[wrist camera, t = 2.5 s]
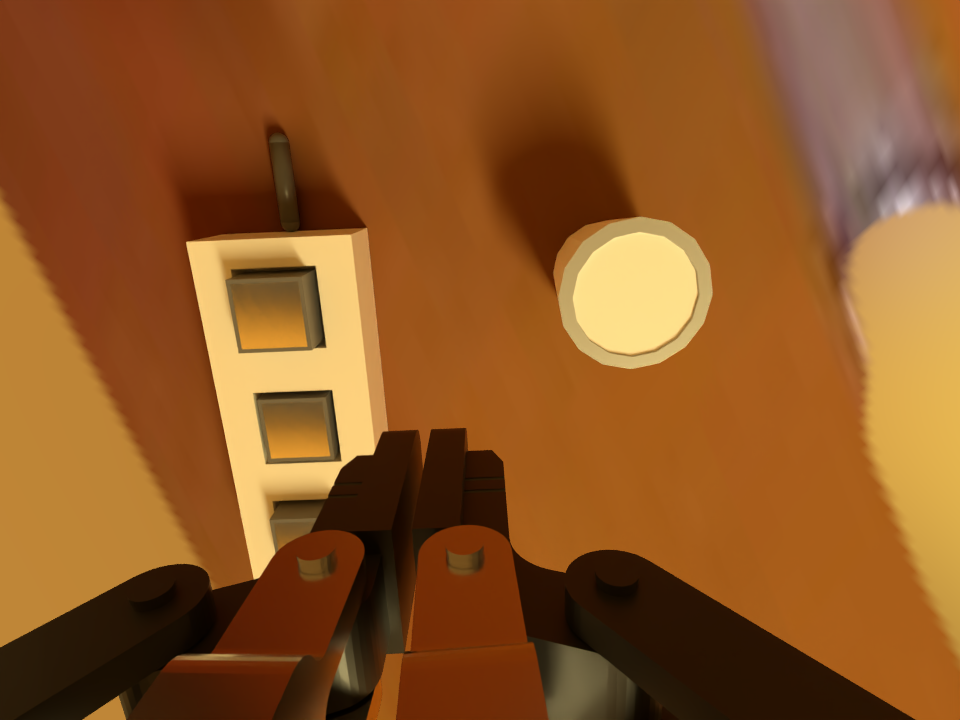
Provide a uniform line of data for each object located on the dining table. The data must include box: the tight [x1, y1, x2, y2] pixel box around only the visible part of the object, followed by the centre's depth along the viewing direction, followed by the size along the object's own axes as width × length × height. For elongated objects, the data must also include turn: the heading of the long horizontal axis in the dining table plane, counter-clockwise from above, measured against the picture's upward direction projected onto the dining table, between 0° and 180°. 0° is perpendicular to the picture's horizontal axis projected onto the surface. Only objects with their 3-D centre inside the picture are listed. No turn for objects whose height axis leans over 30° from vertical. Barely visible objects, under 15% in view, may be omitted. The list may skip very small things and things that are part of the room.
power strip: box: [186, 133, 388, 579], centre depth 31 cm, size 25×8×4 cm, turn 2°
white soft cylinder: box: [553, 217, 713, 369], centre depth 28 cm, size 7×7×7 cm
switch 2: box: [269, 499, 326, 553], centre depth 32 cm, size 4×4×2 cm
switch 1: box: [225, 269, 325, 353], centre depth 28 cm, size 4×4×2 cm
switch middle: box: [257, 390, 340, 462], centre depth 31 cm, size 4×4×2 cm
